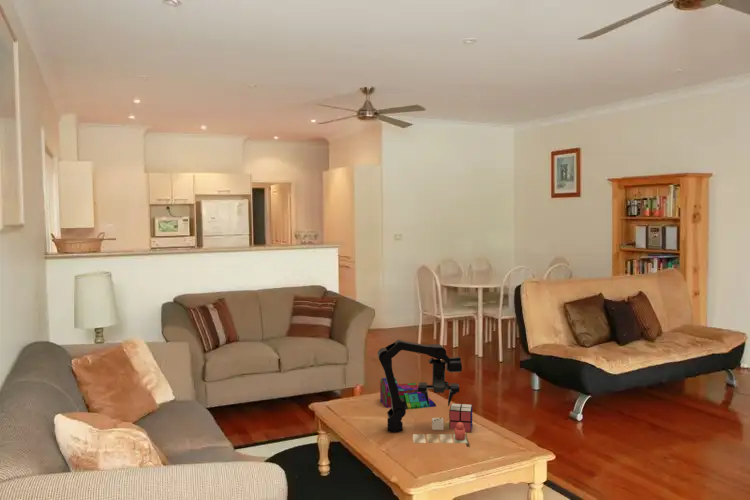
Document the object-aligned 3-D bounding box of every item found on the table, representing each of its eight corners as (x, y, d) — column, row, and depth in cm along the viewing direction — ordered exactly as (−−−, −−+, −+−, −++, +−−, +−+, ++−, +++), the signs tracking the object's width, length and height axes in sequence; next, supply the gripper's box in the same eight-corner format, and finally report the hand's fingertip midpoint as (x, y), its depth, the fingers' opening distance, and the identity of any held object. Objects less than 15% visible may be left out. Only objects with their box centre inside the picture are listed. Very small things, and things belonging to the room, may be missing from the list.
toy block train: (389, 411, 318) (389, 384, 317) (380, 401, 334) (380, 375, 333) (436, 406, 324) (435, 380, 323) (424, 397, 341) (424, 371, 340)
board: (411, 446, 273) (411, 443, 273) (410, 435, 285) (410, 433, 284) (469, 446, 272) (469, 443, 271) (466, 436, 284) (466, 433, 283)
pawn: (455, 440, 275) (455, 423, 275) (454, 436, 280) (454, 420, 279) (465, 440, 275) (465, 424, 275) (464, 436, 280) (464, 420, 279)
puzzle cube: (471, 432, 288) (471, 411, 287) (449, 431, 290) (449, 410, 289) (472, 425, 297) (472, 404, 297) (451, 423, 299) (451, 403, 299)
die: (432, 432, 289) (432, 420, 288) (432, 428, 294) (432, 417, 293) (443, 432, 288) (443, 420, 288) (442, 428, 293) (442, 417, 293)
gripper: (418, 376, 281) (418, 410, 283) (460, 377, 280) (459, 412, 281) (418, 370, 293) (418, 403, 294) (458, 371, 291) (458, 404, 292)
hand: (438, 405), depth 290 cm, fingers open, 9 cm apart
